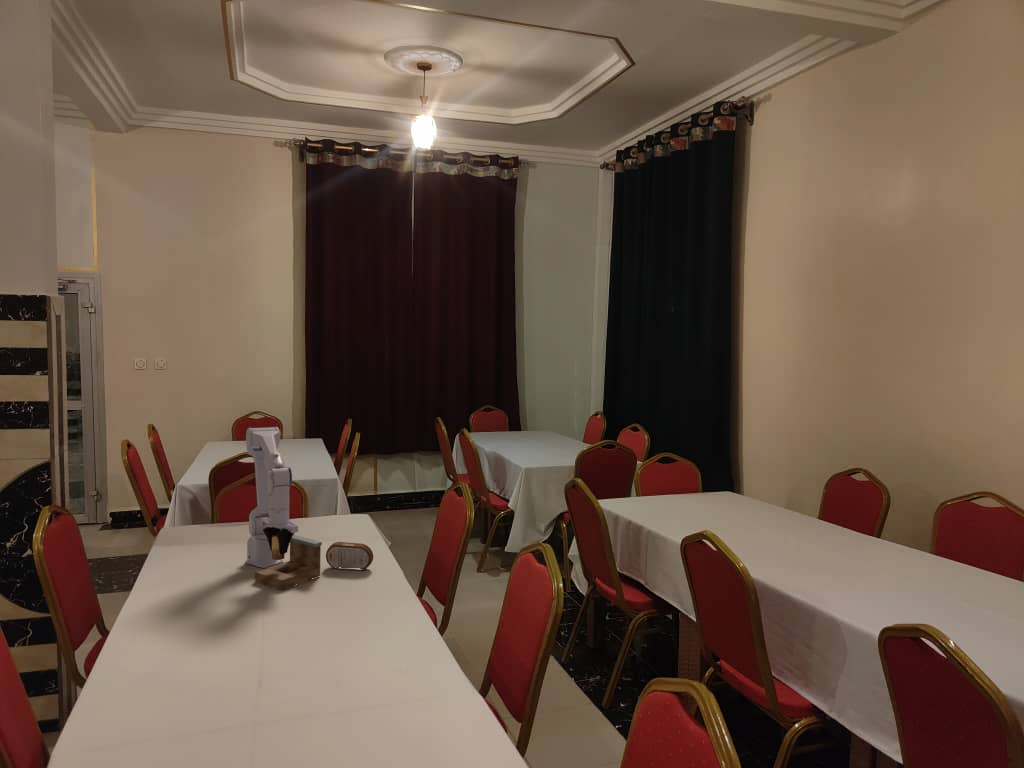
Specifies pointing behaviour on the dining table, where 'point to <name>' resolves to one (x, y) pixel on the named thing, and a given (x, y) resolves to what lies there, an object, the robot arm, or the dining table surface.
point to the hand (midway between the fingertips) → (278, 552)
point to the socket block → (294, 565)
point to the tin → (349, 555)
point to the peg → (276, 549)
